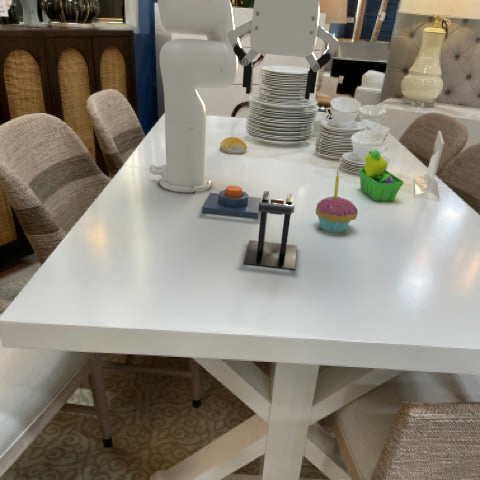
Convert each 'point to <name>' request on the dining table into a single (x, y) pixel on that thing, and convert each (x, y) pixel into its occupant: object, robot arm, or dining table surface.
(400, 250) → the dining table surface
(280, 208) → the lever
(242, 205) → the button block
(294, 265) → the bracket
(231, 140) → the bread roll
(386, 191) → the fruit basket
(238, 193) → the button
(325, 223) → the cupcake
